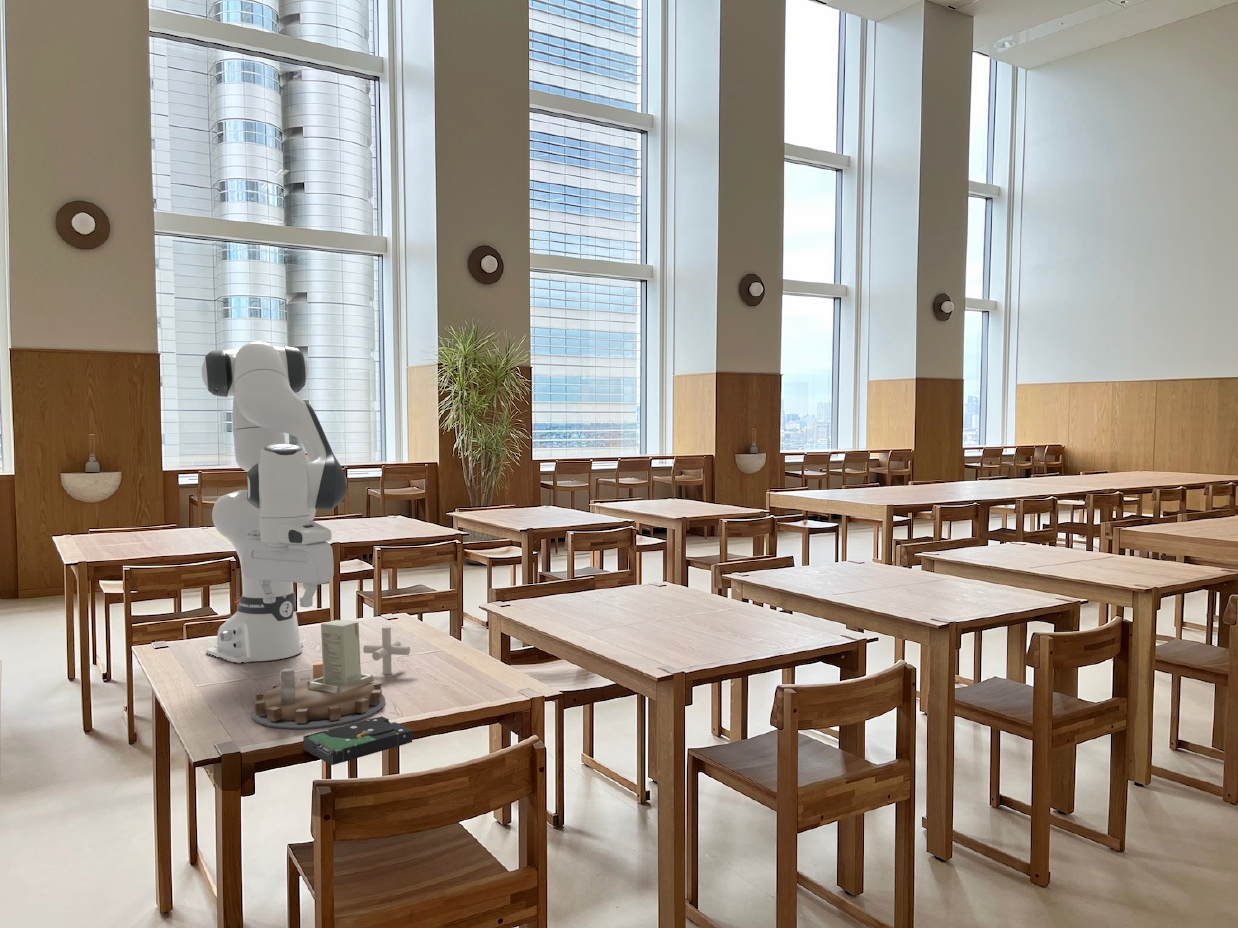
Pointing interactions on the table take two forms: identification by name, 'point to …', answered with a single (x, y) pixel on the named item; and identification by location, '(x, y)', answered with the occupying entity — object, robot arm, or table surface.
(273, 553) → the robot arm
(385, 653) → the pipe connector
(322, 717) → the dial
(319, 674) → the orange rectangular block
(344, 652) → the skincare box
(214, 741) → the table surface
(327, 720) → the dial base
